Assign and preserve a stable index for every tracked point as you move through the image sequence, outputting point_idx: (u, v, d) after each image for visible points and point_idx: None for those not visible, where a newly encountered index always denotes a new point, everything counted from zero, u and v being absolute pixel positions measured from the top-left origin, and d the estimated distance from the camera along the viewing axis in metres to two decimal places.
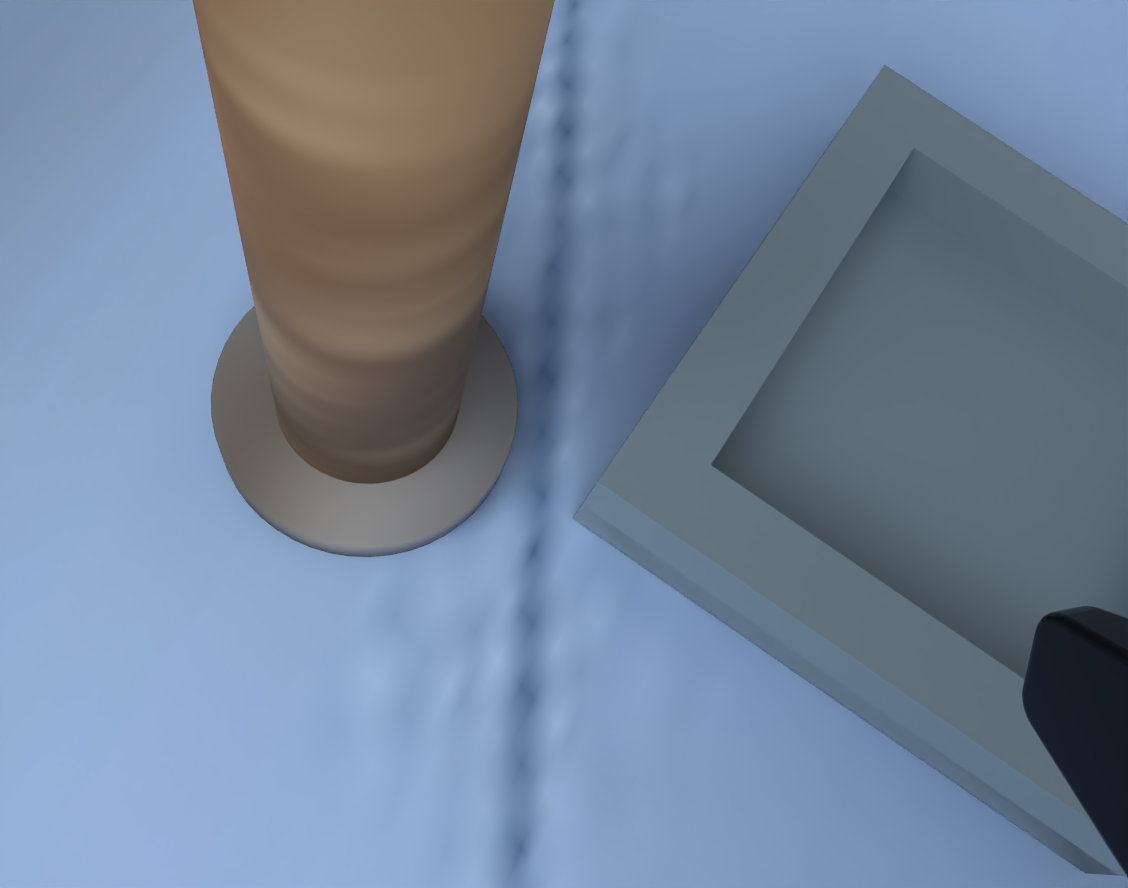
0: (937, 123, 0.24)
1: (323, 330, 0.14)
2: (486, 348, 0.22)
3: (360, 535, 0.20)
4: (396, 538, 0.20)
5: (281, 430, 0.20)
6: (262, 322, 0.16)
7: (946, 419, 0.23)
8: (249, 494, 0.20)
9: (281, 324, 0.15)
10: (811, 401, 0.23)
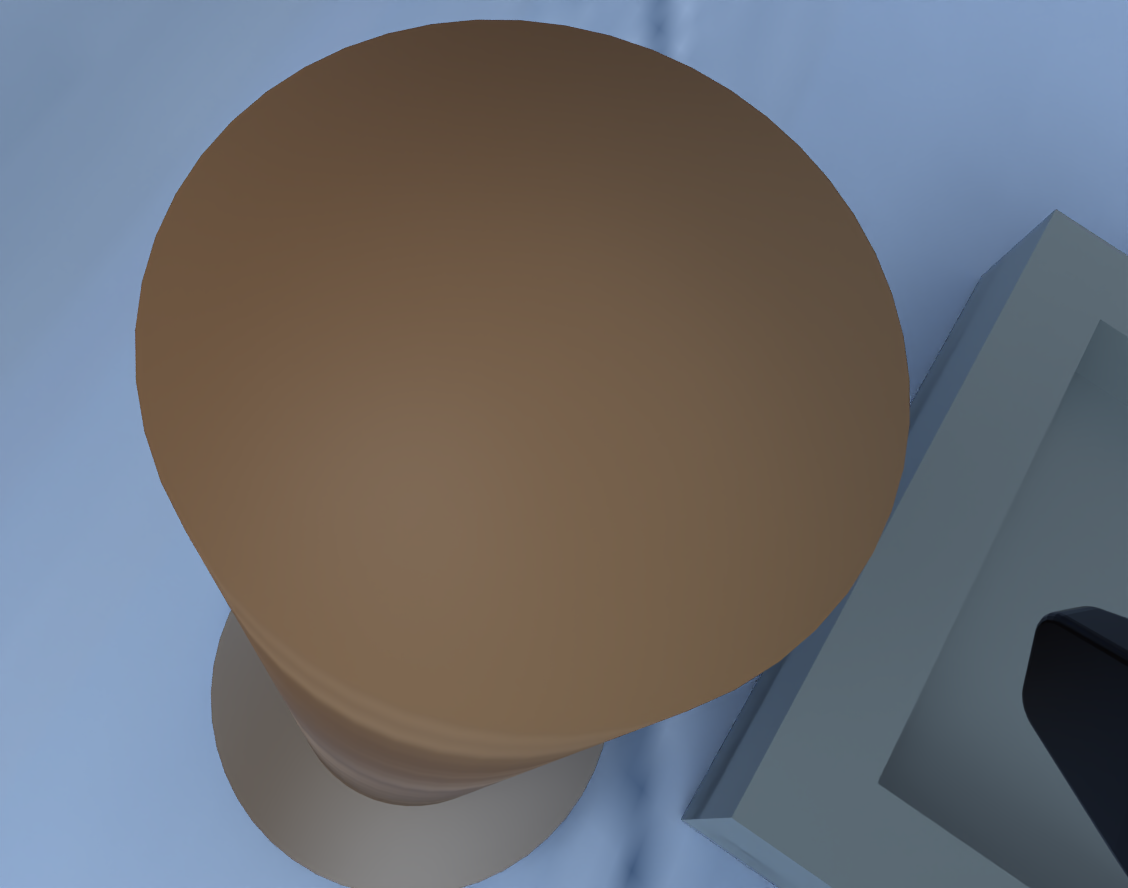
0: (1125, 285, 0.19)
1: (385, 779, 0.09)
2: None
3: (412, 882, 0.15)
4: (459, 884, 0.15)
5: (304, 735, 0.15)
6: None
7: None
8: (263, 831, 0.15)
9: (316, 743, 0.10)
10: (981, 654, 0.18)
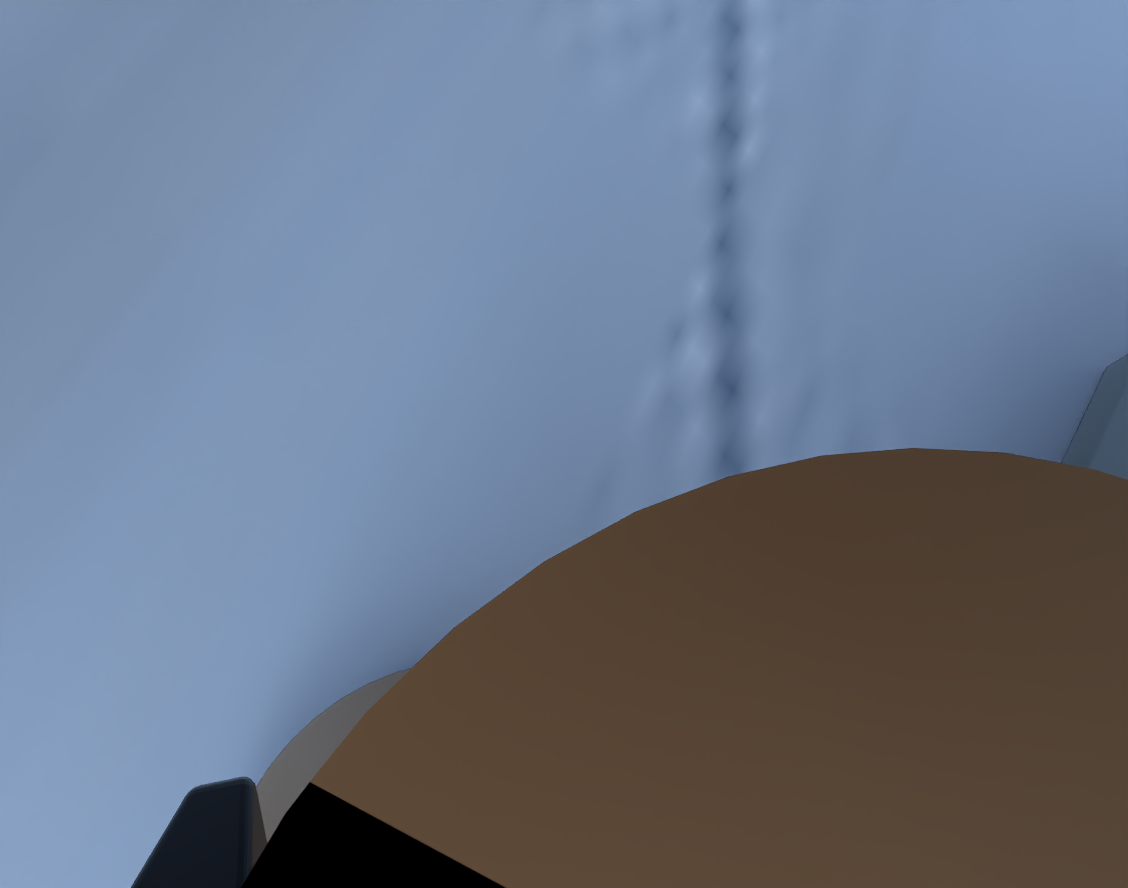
0: None
1: None
2: None
3: None
4: None
5: None
6: None
7: None
8: None
9: None
10: None
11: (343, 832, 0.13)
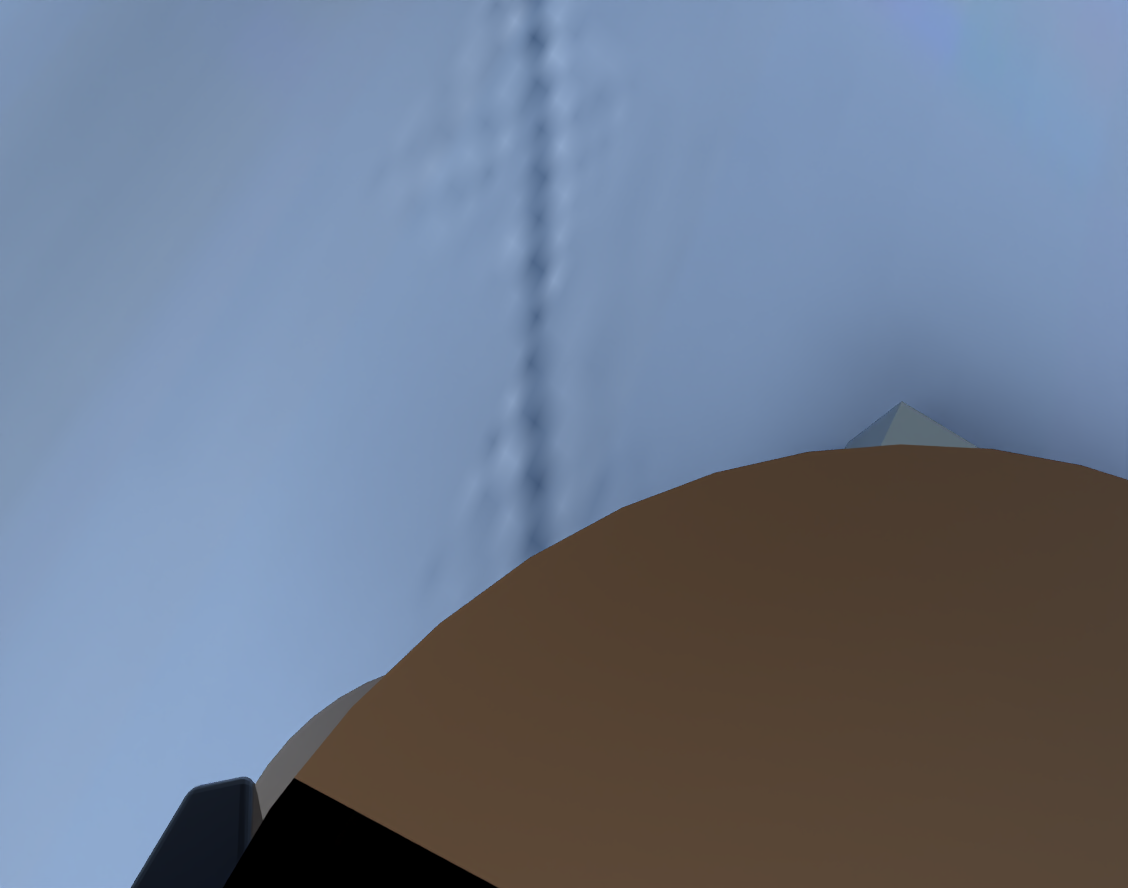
0: None
1: None
2: None
3: None
4: None
5: None
6: None
7: None
8: None
9: None
10: None
11: (341, 831, 0.13)
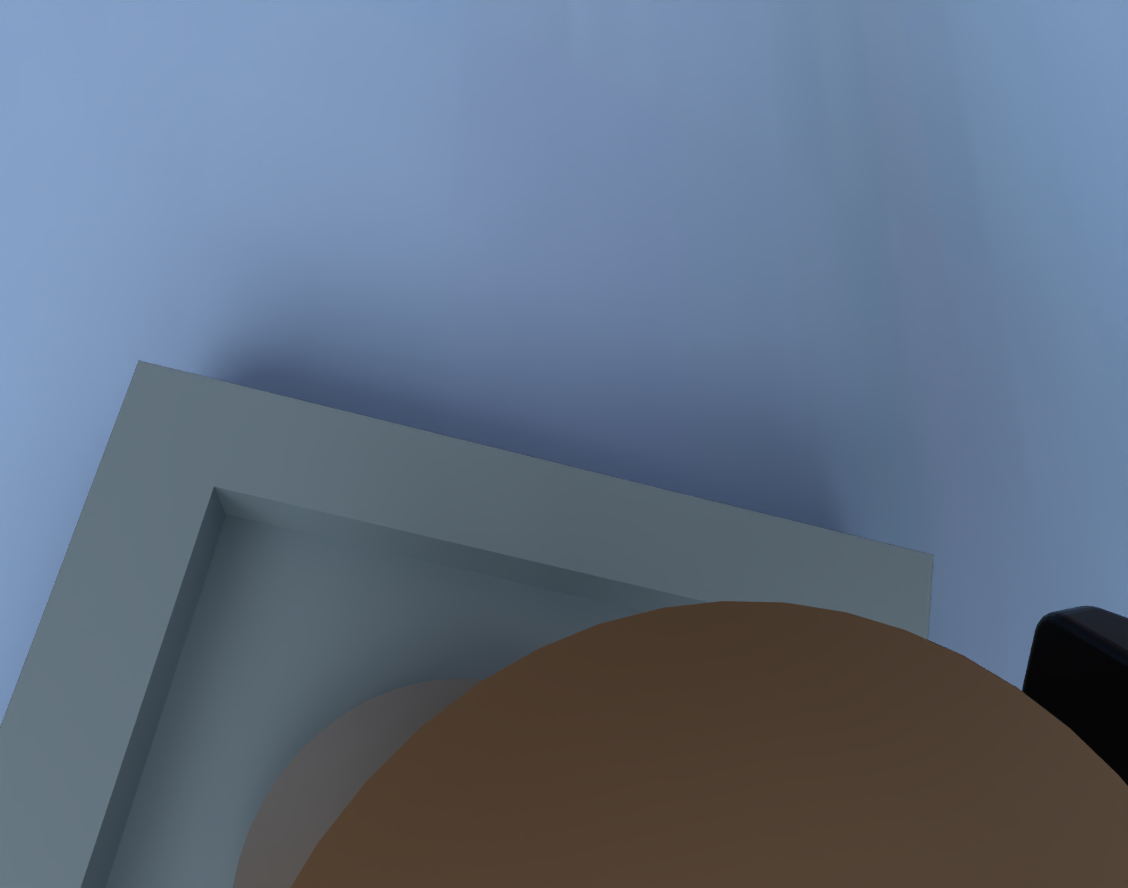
0: (243, 427, 0.15)
1: None
2: None
3: None
4: None
5: None
6: None
7: None
8: None
9: None
10: None
11: None
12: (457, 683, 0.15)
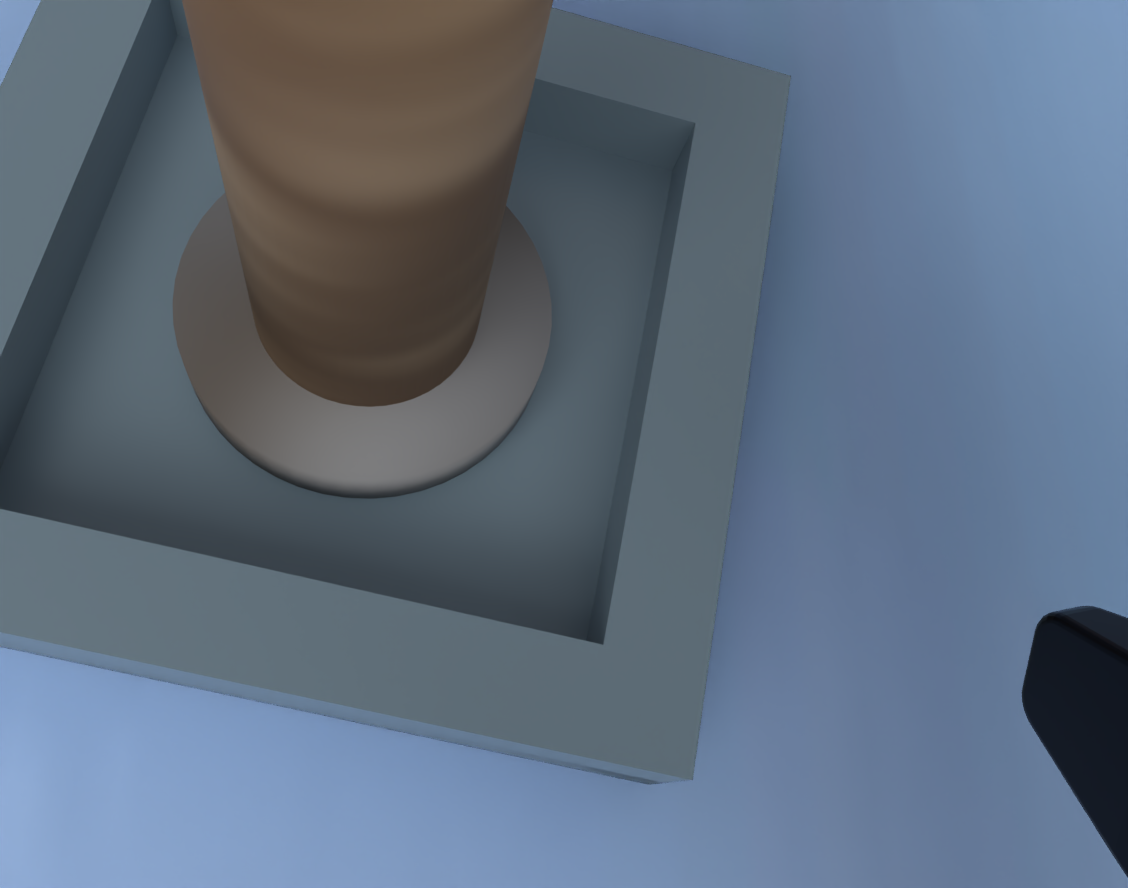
0: None
1: (304, 156, 0.10)
2: (511, 244, 0.18)
3: (360, 469, 0.16)
4: (404, 473, 0.16)
5: (260, 341, 0.16)
6: (225, 166, 0.12)
7: None
8: (220, 419, 0.16)
9: (246, 157, 0.11)
10: (133, 346, 0.17)
11: None
12: None
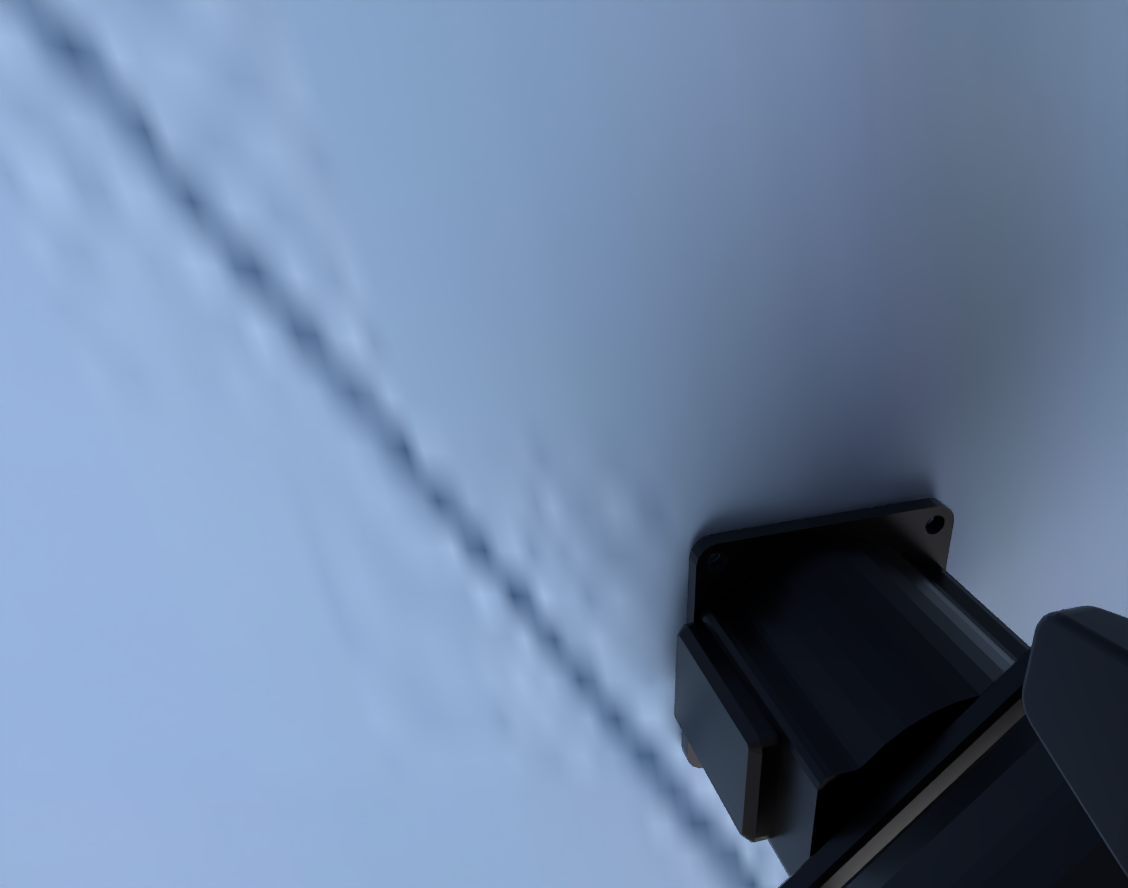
0: None
1: None
2: None
3: None
4: None
5: None
6: None
7: None
8: None
9: None
10: None
11: None
12: None
